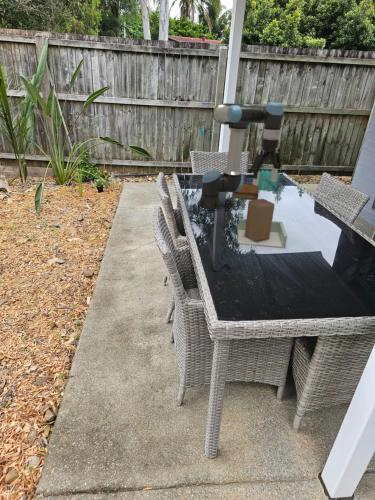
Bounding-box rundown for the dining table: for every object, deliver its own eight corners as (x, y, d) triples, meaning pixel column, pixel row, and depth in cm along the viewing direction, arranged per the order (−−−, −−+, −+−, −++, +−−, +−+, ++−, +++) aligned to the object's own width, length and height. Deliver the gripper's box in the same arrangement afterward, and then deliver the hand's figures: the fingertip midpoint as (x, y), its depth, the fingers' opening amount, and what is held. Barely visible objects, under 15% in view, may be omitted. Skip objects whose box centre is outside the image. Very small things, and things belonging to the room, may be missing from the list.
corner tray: (238, 244, 169) (239, 232, 166) (237, 229, 187) (239, 218, 184) (285, 248, 167) (287, 236, 164) (280, 232, 184) (282, 221, 181)
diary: (257, 201, 237) (258, 193, 235) (231, 199, 240) (232, 191, 237) (257, 192, 258) (258, 185, 255) (233, 190, 260) (234, 183, 258)
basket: (260, 183, 280) (263, 168, 274) (281, 187, 270) (283, 172, 265) (251, 188, 266) (253, 172, 260) (272, 192, 256) (274, 176, 250)
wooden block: (258, 232, 182) (263, 197, 173) (269, 239, 174) (275, 203, 165) (243, 235, 178) (248, 199, 169) (254, 242, 170) (260, 205, 161)
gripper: (259, 141, 143) (253, 188, 153) (293, 138, 157) (286, 181, 167) (246, 139, 149) (241, 184, 158) (281, 136, 162) (274, 178, 172)
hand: (264, 183), depth 162 cm, fingers open, 13 cm apart
